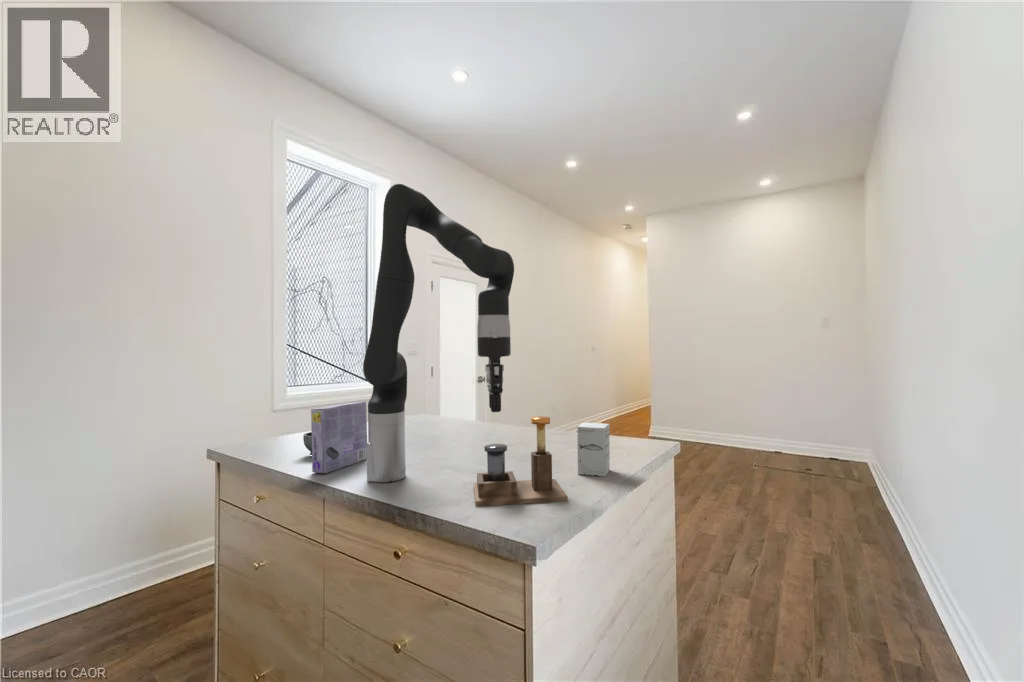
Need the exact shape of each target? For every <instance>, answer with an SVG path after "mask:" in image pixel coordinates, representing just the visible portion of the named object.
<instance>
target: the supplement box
mask: <svg viewBox="0 0 1024 682" xmlns="http://www.w3.org/2000/svg"><path fill="white" fill-rule="evenodd" d="M610 448H611V447H610V423H600V422H581V423H580V424H579V425H577V475H584V474H585V475H586V476H594V475H598V476H597V477H602V476H605V475H606V476H607V474H608V473H609V471H610V459H611V457H610V453H611V452H610ZM608 470H609V471H608ZM607 472H608V473H607ZM585 475H584V476H585ZM606 476H605V477H606Z"/></svg>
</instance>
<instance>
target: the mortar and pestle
mask: <svg viewBox="0 0 1024 682" xmlns="http://www.w3.org/2000/svg"><path fill="white" fill-rule="evenodd" d="M302 440H303V445H304V446H305V448H306V449H307V450H308V452H310V453H309V456H310V455H312V431H310V432H306V433H303V439H302Z"/></svg>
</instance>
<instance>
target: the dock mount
mask: <svg viewBox="0 0 1024 682" xmlns="http://www.w3.org/2000/svg"><path fill="white" fill-rule="evenodd" d="M530 459H531V460H530V461H531V463H530V464H531V465H530V466H531V469H530V470H531V471H530V473H531V479H529V480H517V479H516V476H515V474H514V471H510V470H509V471H505V481H491V482H488V472H477V473H476V481H477V482H473V495H474V505H475V507H483V506H482V505H486V506H502V505H517V504H519V505H521V504H535V503H555V502H568V501H569V499H568V494H567V493H566V492H565V491H564V489H563V488H562V486H561V485H560V484H559V482H558V481H557V479H556V478H553V455H552V453H551V452H550V451H546V455H537V450H536V451H531V452H530Z"/></svg>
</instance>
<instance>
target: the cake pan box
mask: <svg viewBox="0 0 1024 682" xmlns="http://www.w3.org/2000/svg"><path fill="white" fill-rule="evenodd" d="M310 414H311V415H310V416H311V419H310V421H311V423H310V424H311V425H310V426H311V432H312V457H311V468H312V469H311V470H312V471H311V472H312V473H315V474H321V475H326V474H328V472H329V473H331V472H330V471H332V472H334V471H337V470H339V469H338V468H340V469H342V468H341V467H344V466H347V465H349V464H352V463H354V464H356V462H357V463H359V462H358V461H360V462H362V461H361V460H363V461H365V460H364V459H366V460H367V443H368V411H367V402H366V401H360V402H359V401H355V402H351V403H350V402H349V403H343V404H336V405H334V404H333V405H329V406H322V407H316V408H311V410H310ZM352 465H353V464H352ZM347 467H348V466H347ZM344 468H345V467H344ZM336 469H337V470H336ZM333 470H334V471H333ZM325 473H326V474H325Z"/></svg>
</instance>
